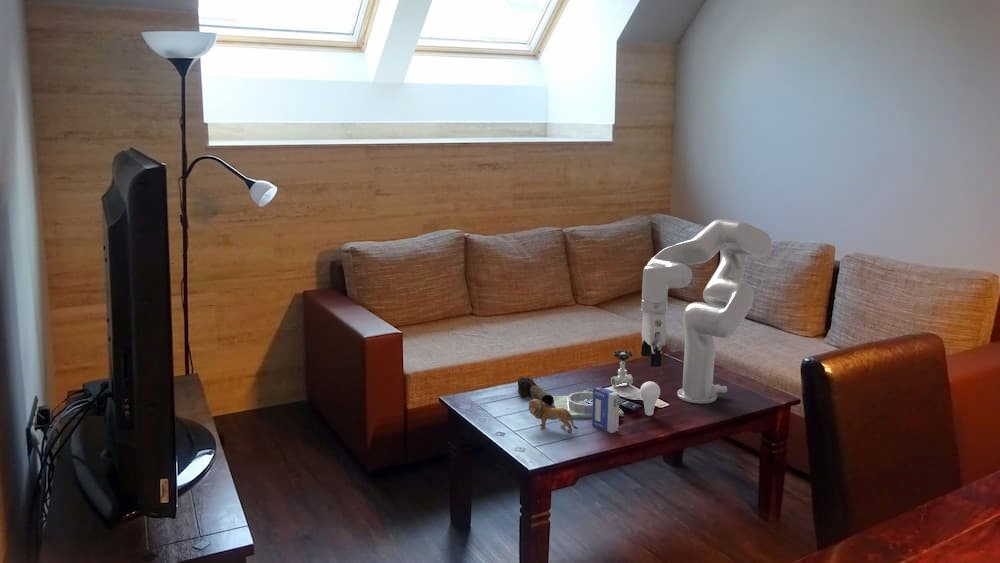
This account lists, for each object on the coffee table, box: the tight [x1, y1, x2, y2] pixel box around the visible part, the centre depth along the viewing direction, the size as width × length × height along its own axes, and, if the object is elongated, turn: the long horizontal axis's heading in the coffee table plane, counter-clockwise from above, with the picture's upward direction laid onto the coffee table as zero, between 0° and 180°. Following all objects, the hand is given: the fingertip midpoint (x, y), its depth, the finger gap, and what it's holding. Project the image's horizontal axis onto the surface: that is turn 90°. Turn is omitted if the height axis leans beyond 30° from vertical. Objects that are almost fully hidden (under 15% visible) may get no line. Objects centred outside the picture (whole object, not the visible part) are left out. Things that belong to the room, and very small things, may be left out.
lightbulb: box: [639, 381, 661, 417], centre depth 245 cm, size 6×6×11 cm
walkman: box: [591, 386, 620, 434], centre depth 236 cm, size 8×3×12 cm, turn 42°
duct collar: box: [552, 391, 625, 420], centre depth 252 cm, size 20×16×3 cm
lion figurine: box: [528, 398, 579, 434], centre depth 235 cm, size 15×5×9 cm, turn 83°
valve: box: [610, 349, 634, 387], centre depth 270 cm, size 7×7×12 cm
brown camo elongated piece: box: [517, 376, 554, 407], centre depth 260 cm, size 18×7×6 cm, turn 25°
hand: (650, 361), depth 242 cm, fingers open, 9 cm apart
